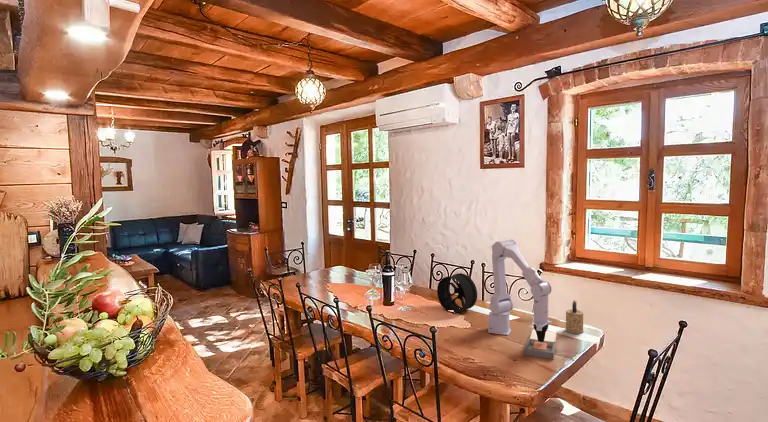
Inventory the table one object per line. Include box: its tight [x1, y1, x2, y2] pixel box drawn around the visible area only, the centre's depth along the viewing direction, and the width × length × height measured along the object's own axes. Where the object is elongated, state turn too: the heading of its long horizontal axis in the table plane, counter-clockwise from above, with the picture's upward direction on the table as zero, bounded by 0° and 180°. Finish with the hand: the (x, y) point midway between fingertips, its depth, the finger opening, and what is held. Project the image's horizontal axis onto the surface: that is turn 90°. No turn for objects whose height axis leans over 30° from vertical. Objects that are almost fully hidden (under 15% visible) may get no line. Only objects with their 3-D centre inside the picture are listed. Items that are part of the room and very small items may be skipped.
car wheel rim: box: [436, 272, 478, 314], centre depth 225 cm, size 20×10×20 cm, turn 40°
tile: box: [533, 342, 547, 351], centre depth 172 cm, size 5×7×2 cm
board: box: [529, 328, 558, 347], centre depth 182 cm, size 10×12×2 cm
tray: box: [523, 337, 557, 361], centre depth 171 cm, size 11×12×3 cm
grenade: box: [565, 299, 584, 335], centre depth 191 cm, size 8×7×15 cm
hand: (541, 341), depth 174 cm, fingers closed
